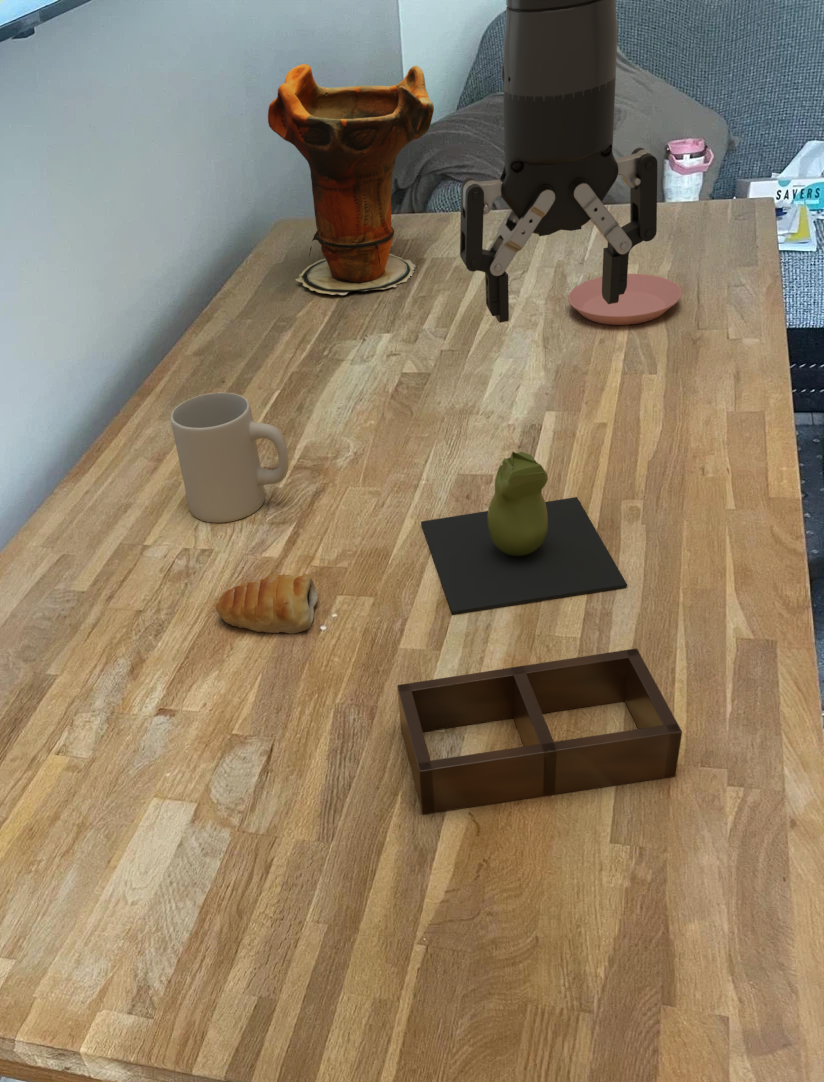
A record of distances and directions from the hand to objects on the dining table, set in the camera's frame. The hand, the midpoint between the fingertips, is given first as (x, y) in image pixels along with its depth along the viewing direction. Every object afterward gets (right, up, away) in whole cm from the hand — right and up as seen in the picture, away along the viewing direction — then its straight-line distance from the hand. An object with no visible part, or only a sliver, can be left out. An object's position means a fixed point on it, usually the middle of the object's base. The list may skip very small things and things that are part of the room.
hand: (555, 309), depth 86 cm
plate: (+24, +22, +59) cm, 67 cm away
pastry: (-22, -23, +17) cm, 36 cm away
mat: (+1, -16, +20) cm, 25 cm away
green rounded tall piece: (+1, -16, +19) cm, 25 cm away
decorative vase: (-9, +36, +81) cm, 89 cm away
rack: (-2, -35, -1) cm, 35 cm away
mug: (-26, -9, +34) cm, 44 cm away
